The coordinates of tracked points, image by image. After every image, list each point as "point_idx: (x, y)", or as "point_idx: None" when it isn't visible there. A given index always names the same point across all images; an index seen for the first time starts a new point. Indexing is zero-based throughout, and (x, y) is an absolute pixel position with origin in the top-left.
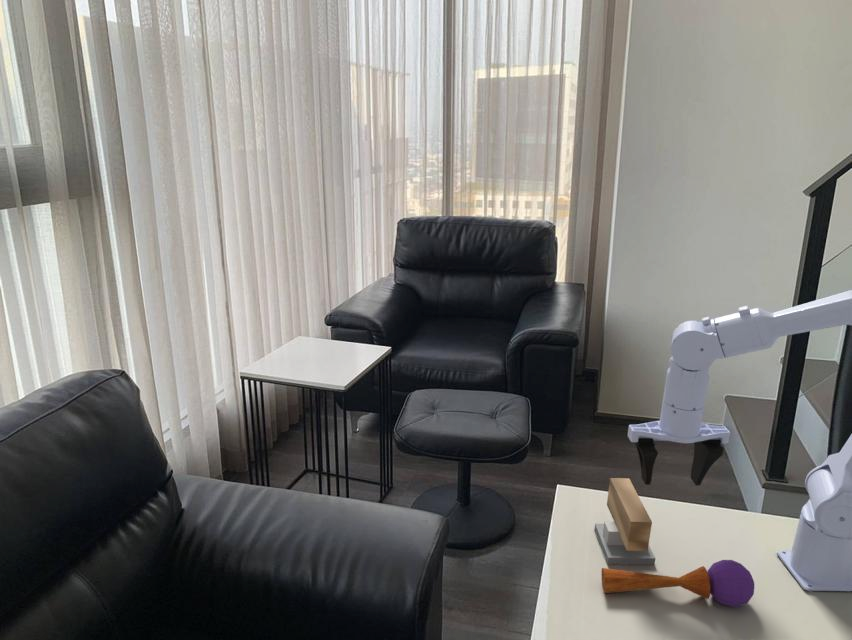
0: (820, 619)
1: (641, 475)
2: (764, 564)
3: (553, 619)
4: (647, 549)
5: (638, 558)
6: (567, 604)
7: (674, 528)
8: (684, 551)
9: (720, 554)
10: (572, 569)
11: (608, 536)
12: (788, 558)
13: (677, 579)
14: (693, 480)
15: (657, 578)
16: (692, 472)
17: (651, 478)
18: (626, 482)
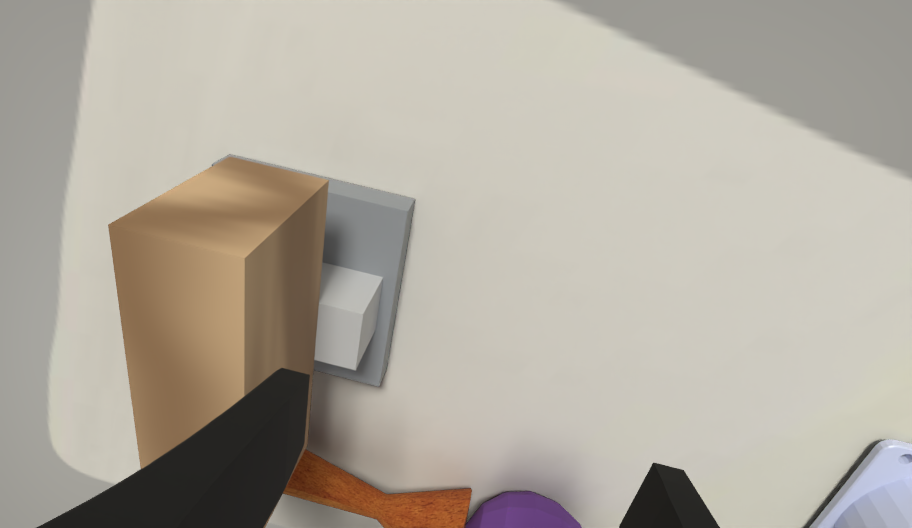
0: None
1: (267, 378)
2: (777, 455)
3: (56, 443)
4: (304, 449)
5: (321, 370)
6: (91, 418)
7: (589, 220)
8: (534, 341)
9: (660, 384)
10: (116, 320)
11: None
12: (885, 482)
13: (370, 517)
14: (636, 505)
15: (310, 500)
16: (658, 523)
17: (275, 504)
18: (211, 295)
